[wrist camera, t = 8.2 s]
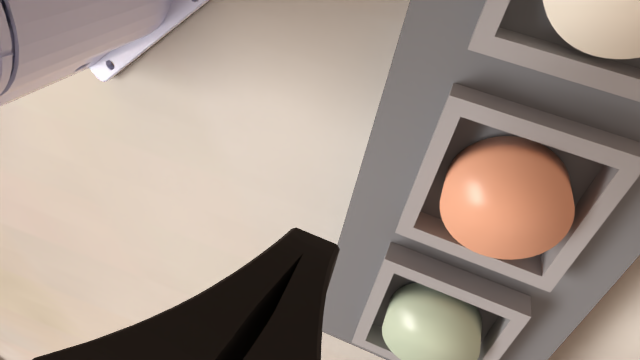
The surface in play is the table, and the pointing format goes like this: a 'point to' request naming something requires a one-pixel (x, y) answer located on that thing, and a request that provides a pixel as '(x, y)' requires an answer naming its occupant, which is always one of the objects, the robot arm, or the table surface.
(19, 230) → the table surface
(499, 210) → the terracotta button
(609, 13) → the cream button
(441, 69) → the button panel
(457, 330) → the sage button
